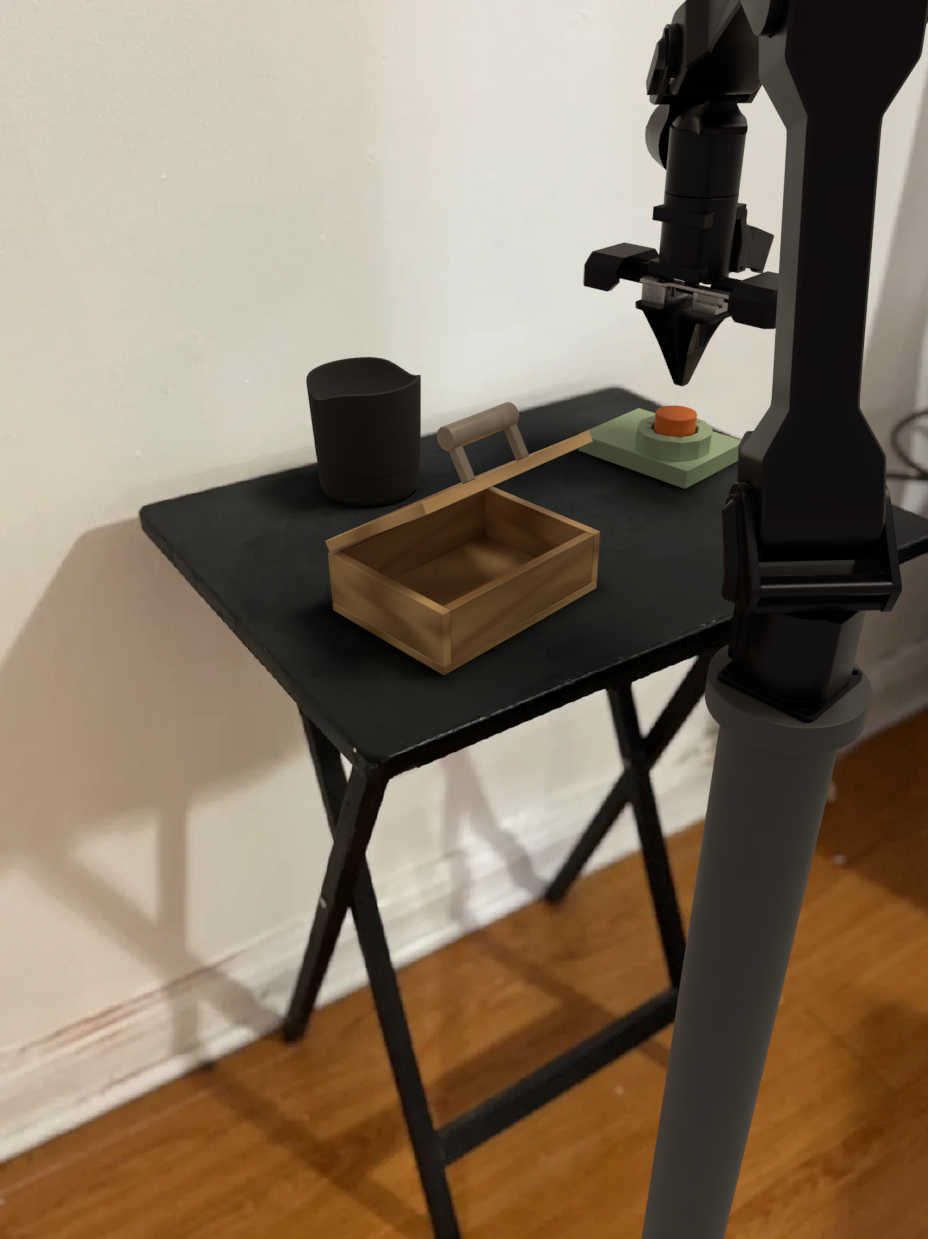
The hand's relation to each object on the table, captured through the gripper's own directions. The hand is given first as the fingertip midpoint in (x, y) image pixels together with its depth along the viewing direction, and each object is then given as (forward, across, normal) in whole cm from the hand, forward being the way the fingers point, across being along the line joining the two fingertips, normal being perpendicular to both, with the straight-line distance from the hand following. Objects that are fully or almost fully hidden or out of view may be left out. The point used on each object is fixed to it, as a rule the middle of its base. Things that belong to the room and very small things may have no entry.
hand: (681, 384), depth 90 cm
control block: (+8, +2, -1) cm, 8 cm away
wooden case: (+8, -3, +29) cm, 30 cm away
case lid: (0, -2, +29) cm, 29 cm away
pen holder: (+8, +16, +22) cm, 28 cm away
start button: (+5, +1, -1) cm, 5 cm away
